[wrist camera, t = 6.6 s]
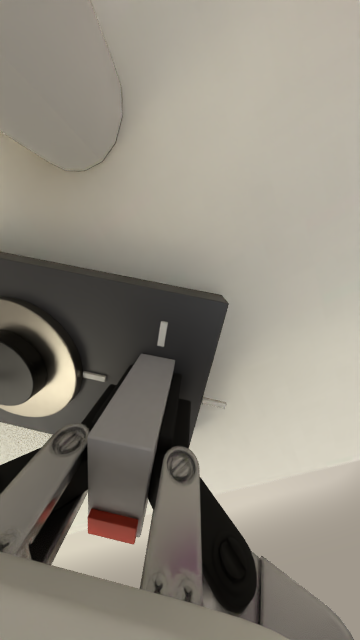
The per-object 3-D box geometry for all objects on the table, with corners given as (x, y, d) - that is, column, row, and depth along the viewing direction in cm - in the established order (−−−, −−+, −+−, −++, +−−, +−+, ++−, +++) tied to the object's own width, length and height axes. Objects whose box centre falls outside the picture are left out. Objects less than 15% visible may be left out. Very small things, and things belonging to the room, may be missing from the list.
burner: (-25, 396, 12) (-55, 413, 11) (-53, 283, 10) (-97, 286, 8) (82, 421, 12) (67, 442, 10) (83, 311, 9) (62, 320, 8)
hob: (9, 392, 15) (-29, 418, 13) (-15, 248, 11) (-76, 243, 9) (202, 436, 14) (203, 473, 12) (244, 299, 11) (258, 309, 8)
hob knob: (140, 352, 10) (80, 444, 5) (175, 359, 10) (151, 460, 5) (134, 414, 11) (83, 535, 6) (164, 421, 11) (137, 549, 6)
